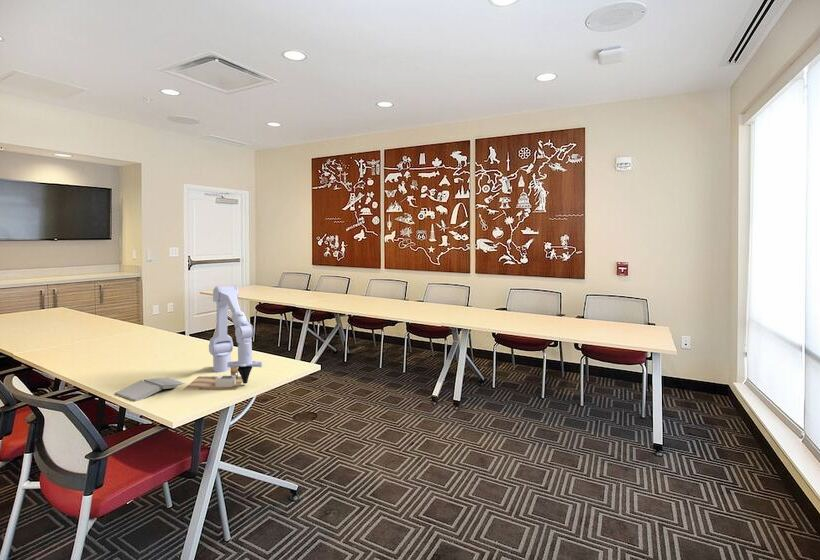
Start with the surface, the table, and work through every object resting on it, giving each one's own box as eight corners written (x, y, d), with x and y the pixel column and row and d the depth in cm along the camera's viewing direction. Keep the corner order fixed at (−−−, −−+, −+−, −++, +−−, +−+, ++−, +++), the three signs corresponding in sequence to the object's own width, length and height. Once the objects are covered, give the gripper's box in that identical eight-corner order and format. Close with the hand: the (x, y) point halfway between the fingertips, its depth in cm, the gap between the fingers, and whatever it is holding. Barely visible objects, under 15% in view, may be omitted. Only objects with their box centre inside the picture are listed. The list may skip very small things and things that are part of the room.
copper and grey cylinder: (231, 377, 207) (231, 362, 207) (239, 377, 208) (238, 362, 207) (229, 379, 204) (229, 364, 203) (236, 379, 204) (236, 364, 204)
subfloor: (198, 379, 208) (198, 376, 208) (247, 378, 209) (247, 376, 209) (182, 392, 190) (182, 389, 190) (235, 392, 192) (235, 389, 191)
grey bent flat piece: (134, 403, 179) (134, 394, 179) (114, 395, 187) (114, 387, 186) (187, 387, 199) (187, 378, 198) (167, 380, 206) (167, 373, 206)
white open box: (219, 383, 199) (219, 375, 199) (235, 383, 200) (235, 375, 199) (215, 387, 194) (215, 378, 194) (232, 387, 195) (231, 378, 194)
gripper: (224, 355, 192) (225, 385, 193) (259, 355, 193) (259, 385, 194) (230, 350, 199) (230, 380, 200) (263, 350, 200) (263, 380, 201)
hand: (245, 382), depth 197 cm, fingers closed
